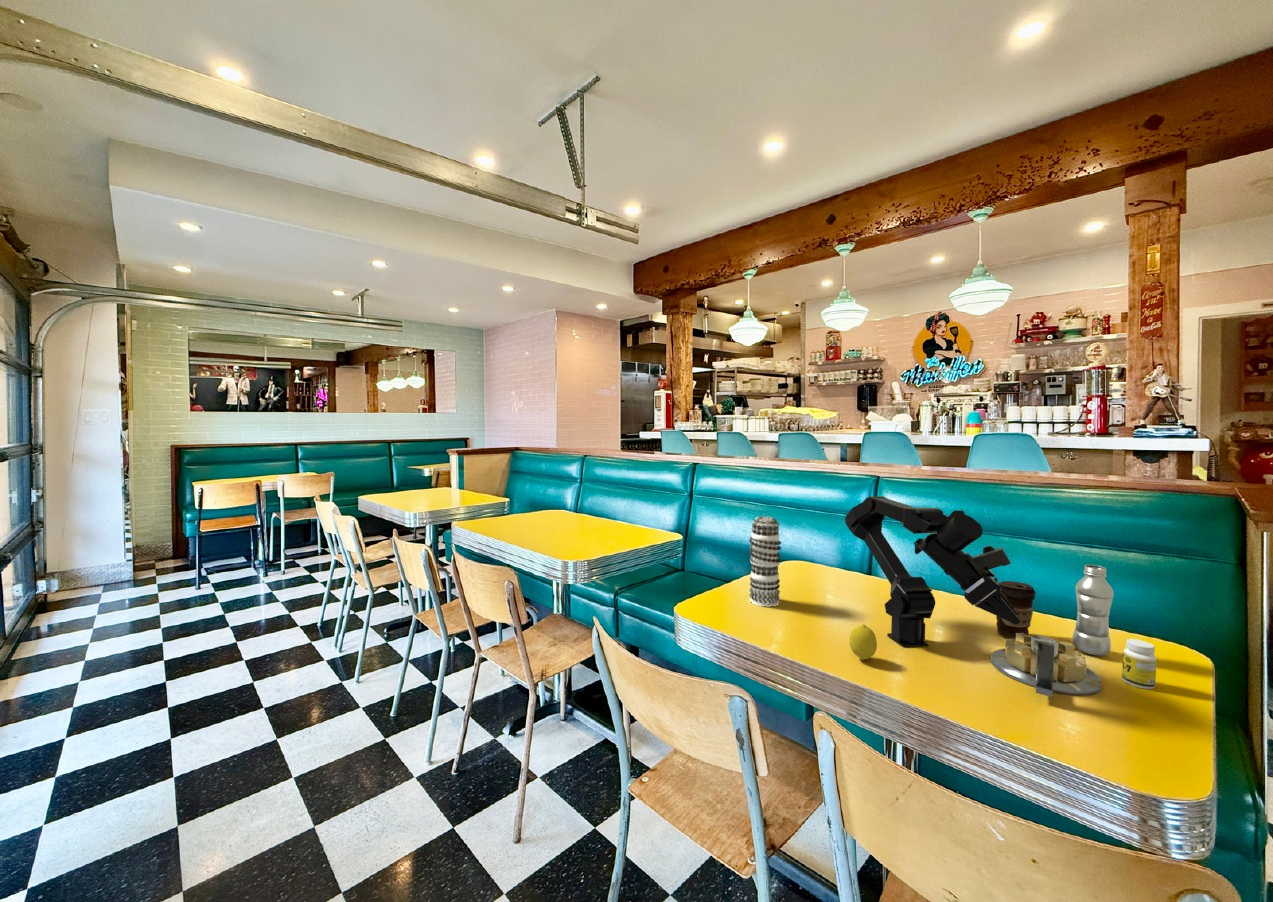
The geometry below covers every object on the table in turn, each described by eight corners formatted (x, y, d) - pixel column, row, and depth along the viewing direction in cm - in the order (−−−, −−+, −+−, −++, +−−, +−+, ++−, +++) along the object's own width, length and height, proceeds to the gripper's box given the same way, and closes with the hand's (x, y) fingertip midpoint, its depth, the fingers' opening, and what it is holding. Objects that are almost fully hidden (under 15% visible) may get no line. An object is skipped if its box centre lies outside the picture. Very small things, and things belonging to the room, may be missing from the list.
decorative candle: (744, 603, 144) (745, 518, 143) (754, 594, 152) (755, 514, 151) (775, 609, 139) (776, 522, 138) (784, 599, 147) (785, 517, 146)
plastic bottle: (1100, 648, 115) (1104, 564, 114) (1117, 661, 109) (1122, 572, 108) (1066, 644, 117) (1070, 561, 116) (1081, 657, 111) (1085, 569, 110)
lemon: (874, 668, 106) (875, 631, 105) (847, 661, 109) (848, 626, 108) (877, 657, 111) (878, 623, 110) (851, 651, 113) (852, 617, 113)
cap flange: (1043, 697, 94) (1045, 662, 94) (970, 654, 112) (972, 624, 112) (1127, 692, 96) (1129, 657, 96) (1043, 650, 114) (1044, 621, 114)
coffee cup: (1043, 645, 117) (1045, 591, 116) (1003, 642, 118) (1005, 589, 118) (1022, 630, 125) (1024, 580, 125) (985, 627, 127) (987, 578, 126)
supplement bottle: (1118, 675, 103) (1120, 635, 102) (1149, 681, 101) (1151, 640, 100) (1126, 685, 99) (1128, 644, 98) (1159, 692, 96) (1161, 650, 96)
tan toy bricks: (1006, 645, 113) (1008, 605, 113) (1082, 663, 105) (1085, 619, 104) (1000, 684, 96) (1002, 637, 96) (1091, 709, 88) (1093, 657, 87)
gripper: (982, 536, 97) (1059, 601, 90) (980, 531, 112) (1045, 586, 105) (937, 572, 100) (1006, 638, 93) (940, 562, 116) (1000, 618, 109)
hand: (1016, 618), depth 100 cm, fingers open, 9 cm apart
